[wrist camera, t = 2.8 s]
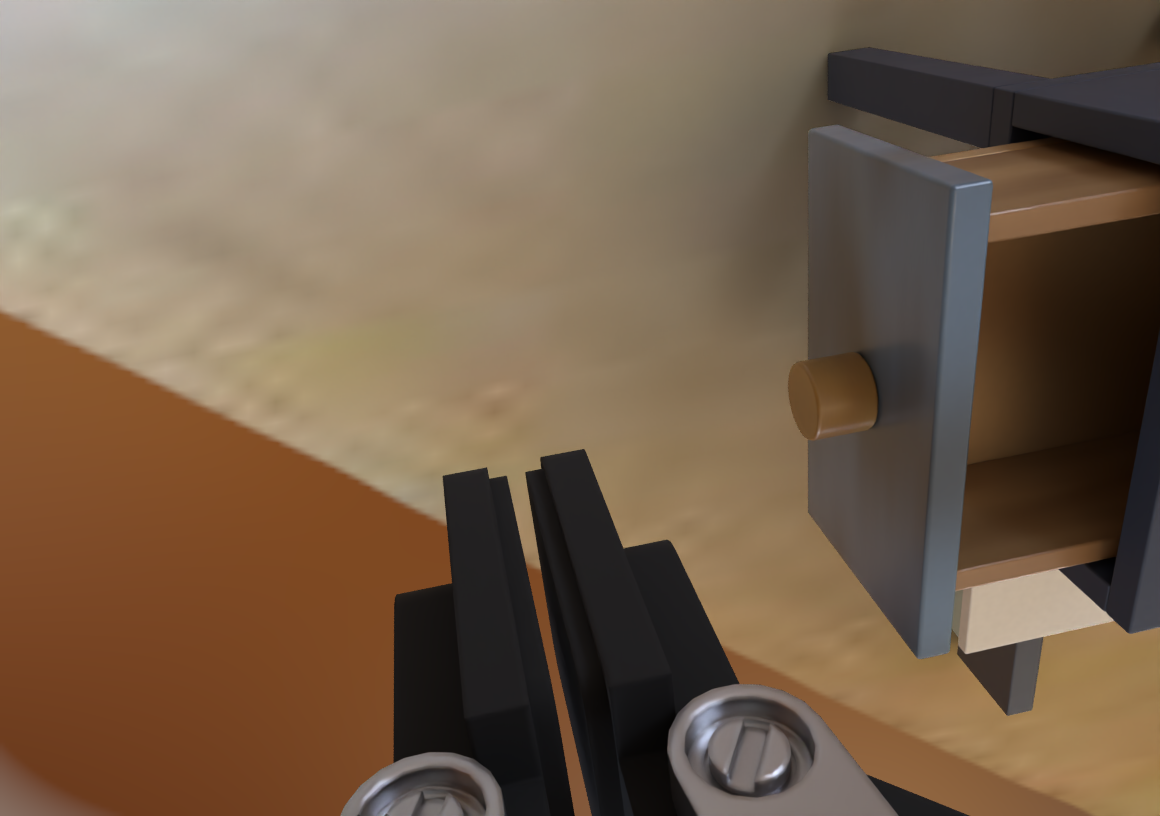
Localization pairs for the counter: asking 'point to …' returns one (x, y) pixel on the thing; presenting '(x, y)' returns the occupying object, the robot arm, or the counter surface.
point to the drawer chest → (1017, 114)
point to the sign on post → (1017, 631)
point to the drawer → (973, 362)
